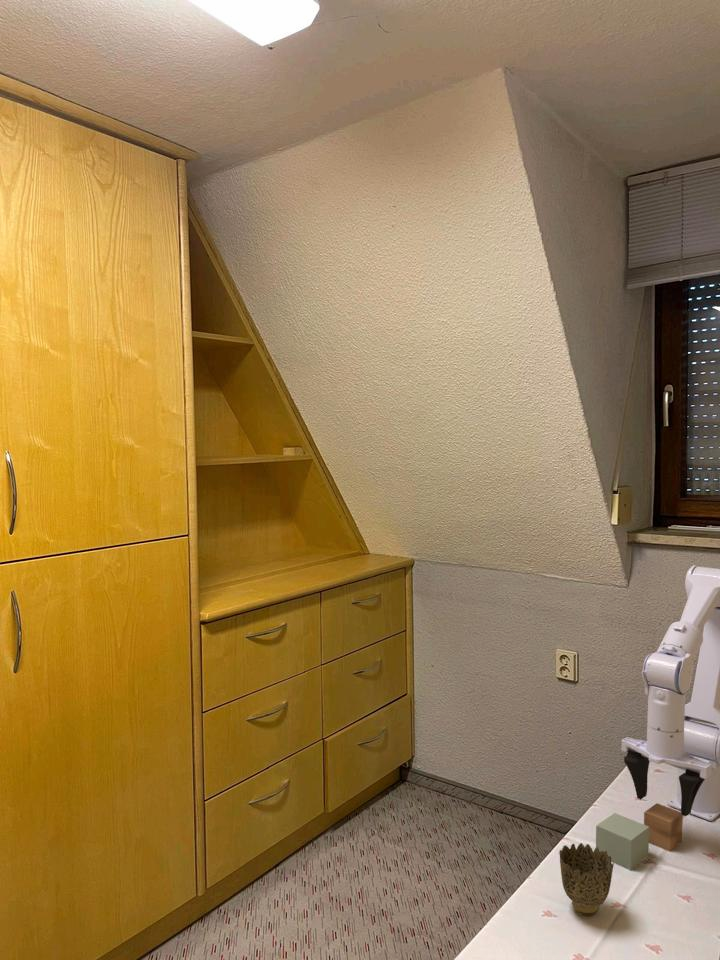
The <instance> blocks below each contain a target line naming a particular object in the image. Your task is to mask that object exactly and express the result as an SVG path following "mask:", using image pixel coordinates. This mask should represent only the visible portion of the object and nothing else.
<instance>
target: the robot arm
mask: <svg viewBox="0 0 720 960" xmlns="http://www.w3.org/2000/svg"><path fill="white" fill-rule="evenodd" d="M684 586H685V588H684V589H685V592H686V598H687V600H686V602H685V605H684V608H683V612H682V614H681V617H680V620H679V621H675V622H673V623H671V624H670V625H669V627H668V629H667V631H666V633H665V635H664V637H663V639H662V641H661V642H660V644H659V646H658V648H657V650H656V652H653V653H651V654H647V656H646V657H645V659H644V662H643V666H642V672H641V676H642V682H643V685H644V695H645V697H647V721H646V722H647V723H646V724H647V725H646V726H647V727H646V740H642V739H635V738H631V737H628V736H627V737H624V738H622V739H621V748H620V749H621V750H620V751H621V752H624V753H626V756H624V757H623V761H624V764H625V766H626V767H627V769H628V771H629V774H630V776H631V779H632V783H633V785H634V789H635V792H636V793H635V794H636V798H637V800H638V799H639V800H642V799H643V798H645V797H647V795H648V794H647V793H648V776H649V775H648V773H649V767H650V762H651V763H655V764H659V765H661V764H664V765H668V766H670V767H674V768H677V778H676V780H677V783H676V784H677V785H676V795H675V796H674V797H673V798H672V799H670V800H669V801H667V805H668V806H669V807H672V808H674V809H677V810H679V811H680V812H681V815H683V817H687V816H689V815H690V814H691V815H693V816H695V817H698V818H701V819H704V820H706V821H713V820H715V819H716V818H717V817H719V815H720V568H712V567H707V566H699V565H696V564H693V565H692V566H691V567H690V568H689V569H688V570H687V572H686V575H685V581H684ZM702 629H703V631H702ZM697 655H698V660H697V666H696V670H695V665H694V662H695V659H696V657H697ZM694 671H695V675H694V682H693V687H692V692H691V699H690V702H689V701H688V703H686V693H687V692H688V691H689V689H690V687H691V683H692V678H693V672H694ZM694 720H696V721H694ZM697 721H701V722H697ZM702 722H704V723H702ZM706 723H708V724H706ZM709 724H712V725H709ZM713 725H715V726H713Z"/></svg>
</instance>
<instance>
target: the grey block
mask: <svg viewBox="0 0 720 960" xmlns="http://www.w3.org/2000/svg"><path fill="white" fill-rule="evenodd" d="M649 845H650V843H649V826H646V825H644V823H641V822H638V821H636V820H634V819H632V818H628V817H626V816H623V815H621V814H618V813H616V812H614V813H612V814H611V815H610V816H608V817H606V818H605V819H604V820H602V821H601V822H599V823H598V824H596V825H595V848H596V847H597V846H598V848H599V852H600V853H601V851H604V850H606V851H607V852H608V856H611V863H612V864H613V863H614V864H615V865H617V866H619V867H622V868H624V869H626V870H628V871H629V872H630V871H632V870H633V869H634V868H635V867H637V866H638V865H639V864H641V862H643V861H644V860H646V858H648V857H649V849H650V848H649Z"/></svg>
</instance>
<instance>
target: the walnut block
mask: <svg viewBox="0 0 720 960" xmlns="http://www.w3.org/2000/svg"><path fill="white" fill-rule="evenodd" d="M643 813H644V814H643V824H644V825H646V826H649V845H653V846H655V847H658V848H660V849H663V850H665V851H667V852H669V853H670V852H671V851H672V850H674V849H676V847H677V846H679V845H680V844H681V843H682V842H683V821H684V820H683V819H684V818H683V817H684V816H683V815H681V811H680V810H679V811H678V810H675V809H673V808H671V807H667V806H666V805H662V804H660V803H655V804H653V805H652V806H651V807H649V808H648V809H647V810H645V811H644V812H643Z"/></svg>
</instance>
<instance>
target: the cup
mask: <svg viewBox="0 0 720 960" xmlns="http://www.w3.org/2000/svg"><path fill="white" fill-rule="evenodd" d="M558 854H559V863H560V864H559V865H560V867H559V868H560V873H561V874H560V875H561V883H562V886H563V890H564V892H565V894H566V896H567V897H568V898H569V900H570V901H571V905H572V908H573V910H574V911H575V912H576V913H577V914H579V915H581V916H584V917H593V916H595V915H597V913H598V911H599V907H600V905H602V904H604V903H605V901H606V900H607V898H608V895H609V893H610V889H611V883H612V877H613V871H614V864H615V863H613V862H611V856H608V852H607V851H606V850H604V851H601V853H600V852H599V848H598V846H597V847H596V846H595V848H594V850H593V848H592V847H591V846H590V844H589V843H587V844H586V845H584V844H583V843H582V842H581V843H579V844H578V845H577V847H576V844H575V843H572V844H571V845H570V847H568V845H565V844H564V846H562V848H561V849H559V853H558Z"/></svg>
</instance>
